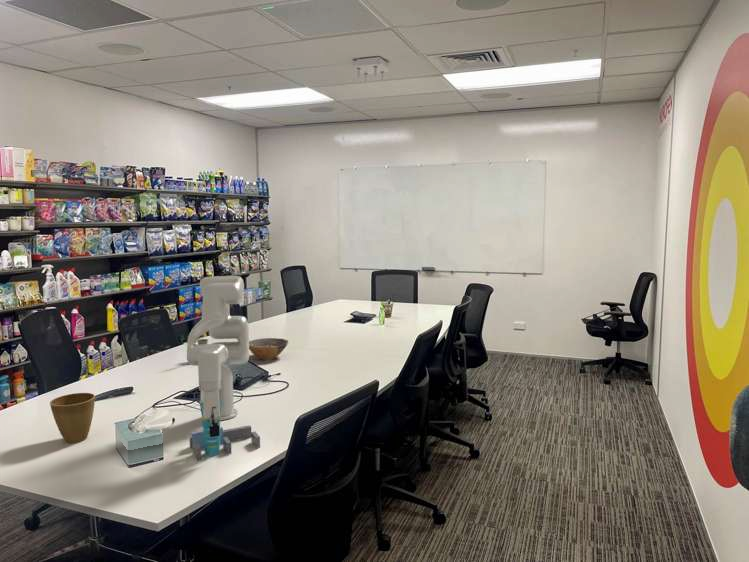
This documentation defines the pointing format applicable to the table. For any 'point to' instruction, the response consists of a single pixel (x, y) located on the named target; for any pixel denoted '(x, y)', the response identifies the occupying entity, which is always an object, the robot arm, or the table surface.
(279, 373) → the table surface
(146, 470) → the table surface
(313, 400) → the table surface
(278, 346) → the bowl
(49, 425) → the table surface
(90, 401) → the plant pot
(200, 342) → the coffee pot
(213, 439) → the tube
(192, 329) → the robot arm
